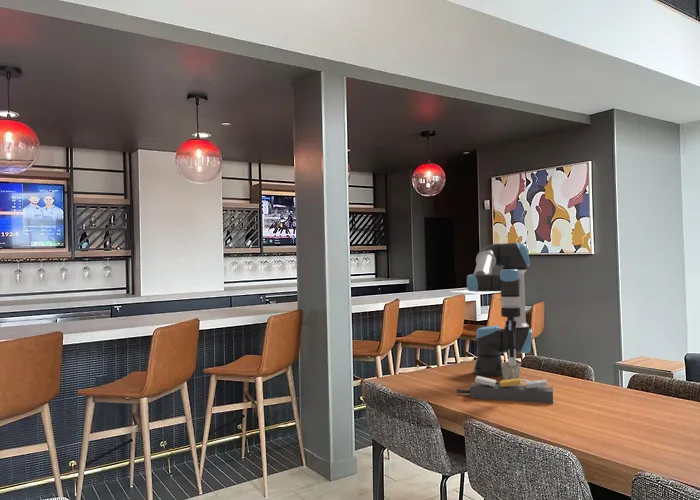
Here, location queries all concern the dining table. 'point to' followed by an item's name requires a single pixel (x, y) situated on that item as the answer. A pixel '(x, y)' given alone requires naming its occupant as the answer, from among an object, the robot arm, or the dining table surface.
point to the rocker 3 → (536, 383)
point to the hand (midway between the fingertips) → (512, 364)
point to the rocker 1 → (485, 381)
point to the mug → (510, 370)
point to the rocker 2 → (510, 382)
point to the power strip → (510, 393)
